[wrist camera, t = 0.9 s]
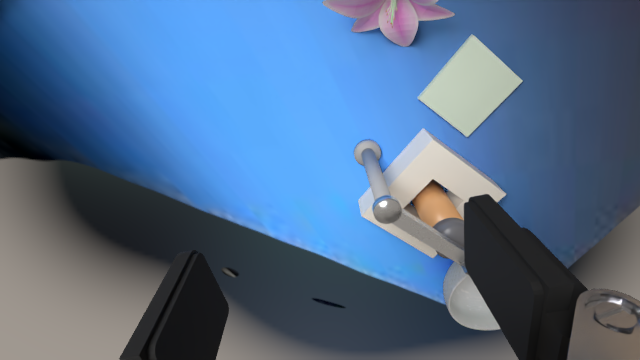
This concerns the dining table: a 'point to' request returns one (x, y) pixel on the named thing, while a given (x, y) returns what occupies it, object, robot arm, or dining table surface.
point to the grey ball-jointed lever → (416, 228)
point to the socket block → (420, 179)
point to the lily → (389, 16)
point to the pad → (470, 86)
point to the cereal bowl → (466, 300)
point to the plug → (439, 212)
